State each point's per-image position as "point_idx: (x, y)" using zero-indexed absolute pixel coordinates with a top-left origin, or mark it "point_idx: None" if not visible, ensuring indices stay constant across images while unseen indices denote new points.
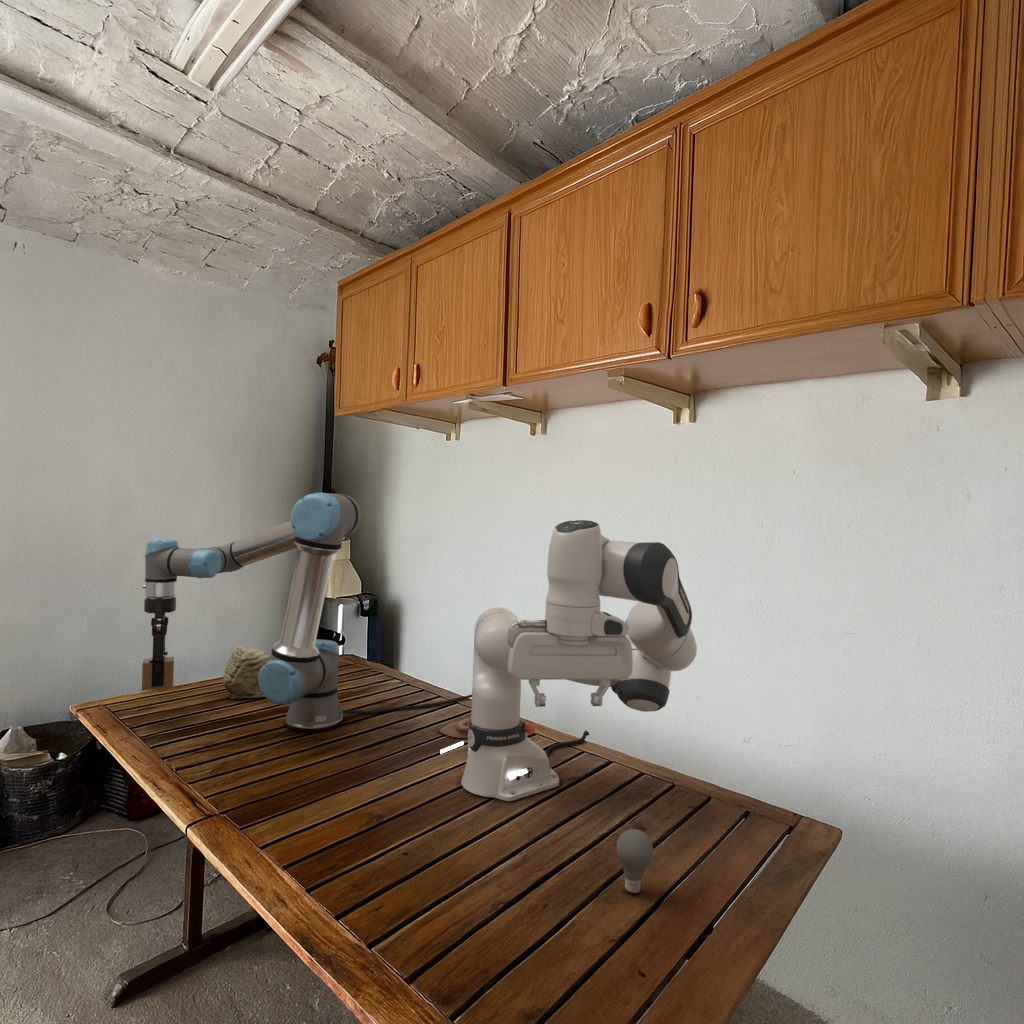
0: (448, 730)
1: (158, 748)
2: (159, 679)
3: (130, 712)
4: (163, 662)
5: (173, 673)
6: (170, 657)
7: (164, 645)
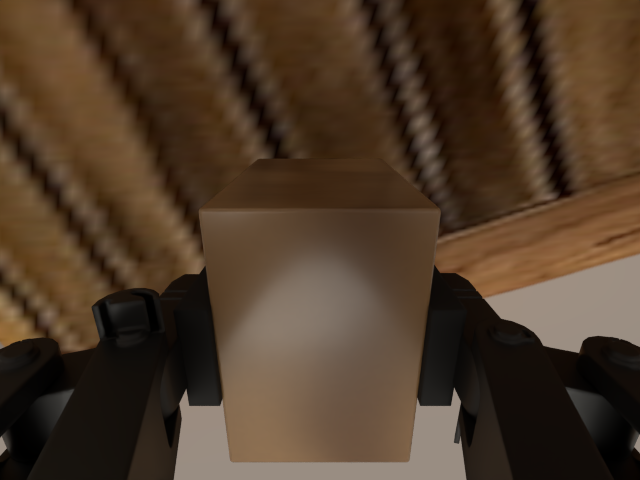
0: None
1: (585, 173)
2: None
3: (161, 281)
4: (460, 308)
5: (282, 171)
6: (233, 247)
7: (137, 438)
